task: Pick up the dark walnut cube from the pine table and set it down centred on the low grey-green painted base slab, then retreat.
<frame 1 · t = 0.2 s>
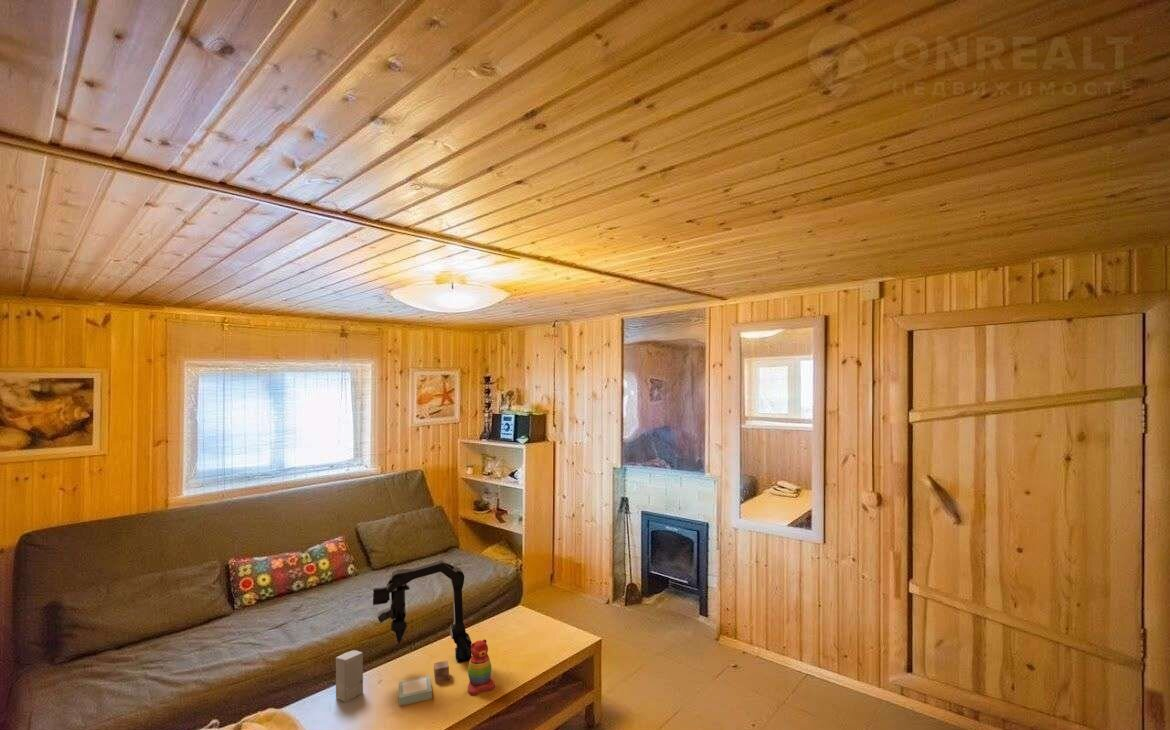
hand: (399, 637, 227), 14 cm above the table, fingers open, 9 cm apart
base slab: (414, 694, 209), on the table
walnut cube: (441, 678, 220), on the table
skincare box: (349, 695, 209), on the table
stacking bear: (480, 687, 213), on the table
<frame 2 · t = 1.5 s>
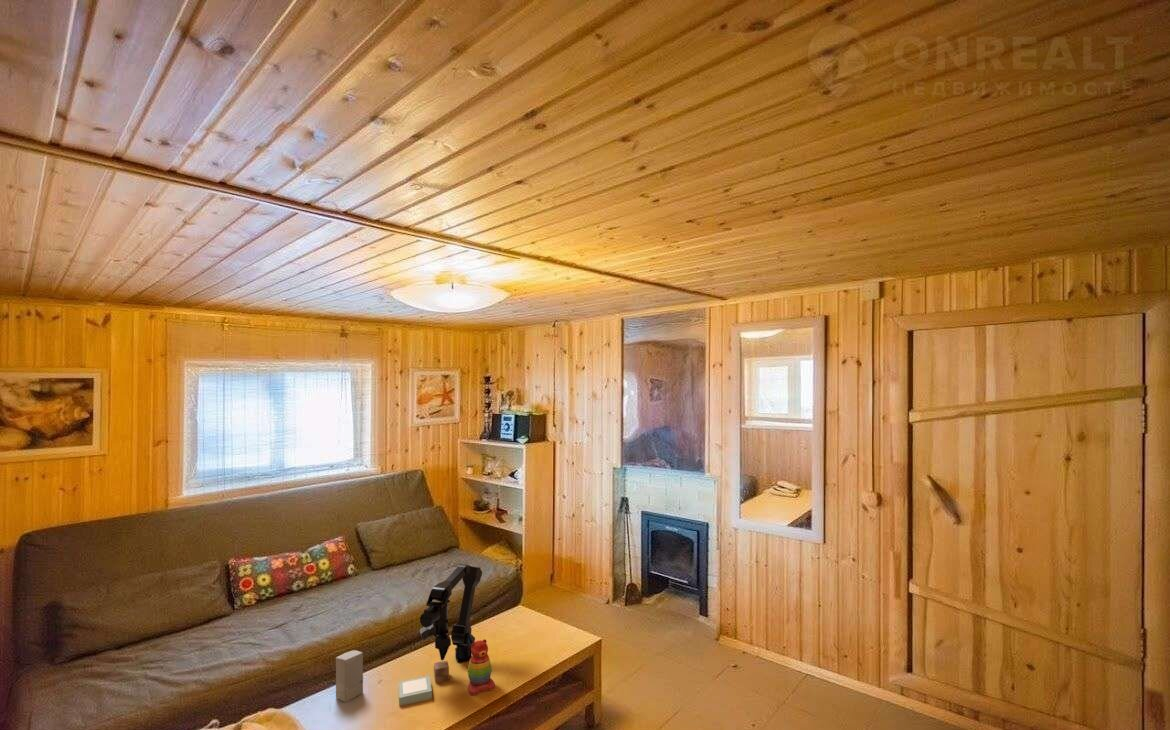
hand: (441, 654, 221), 9 cm above the table, fingers open, 9 cm apart
nothing on the table moved.
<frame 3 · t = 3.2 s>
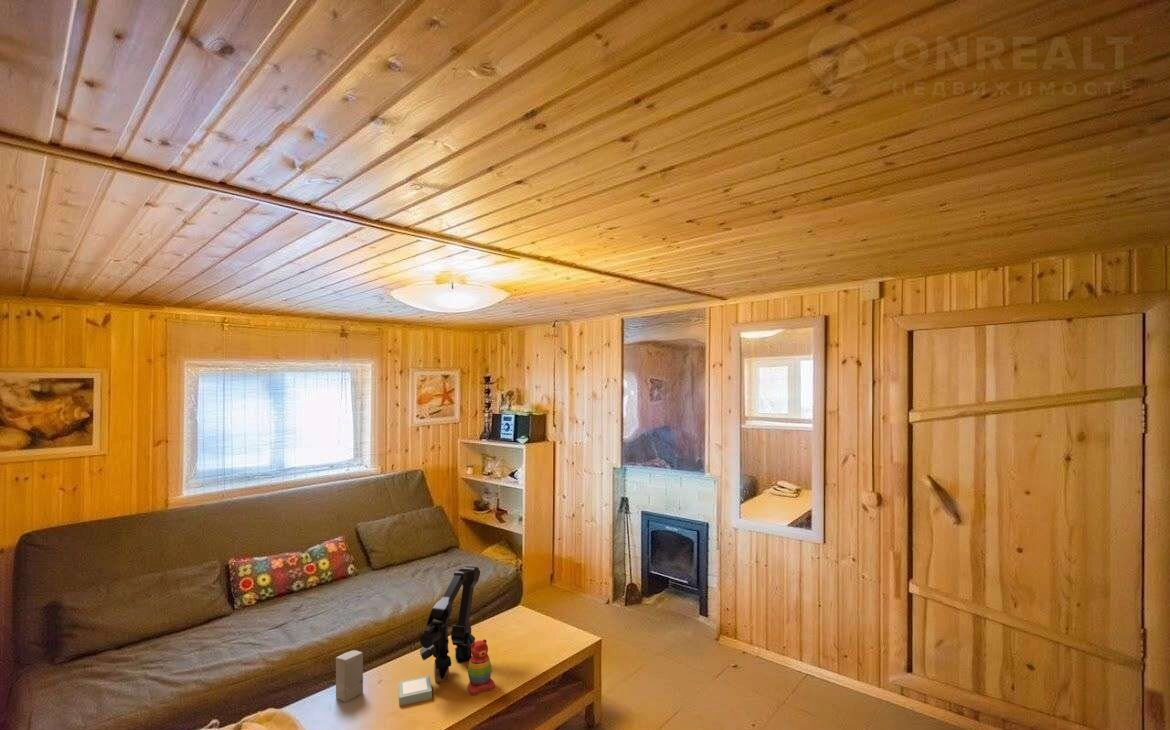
hand: (441, 675, 220), 1 cm above the table, fingers closed on walnut cube, 5 cm apart
walnut cube: (441, 678, 220), on the table, touching gripper
everything else where it was.
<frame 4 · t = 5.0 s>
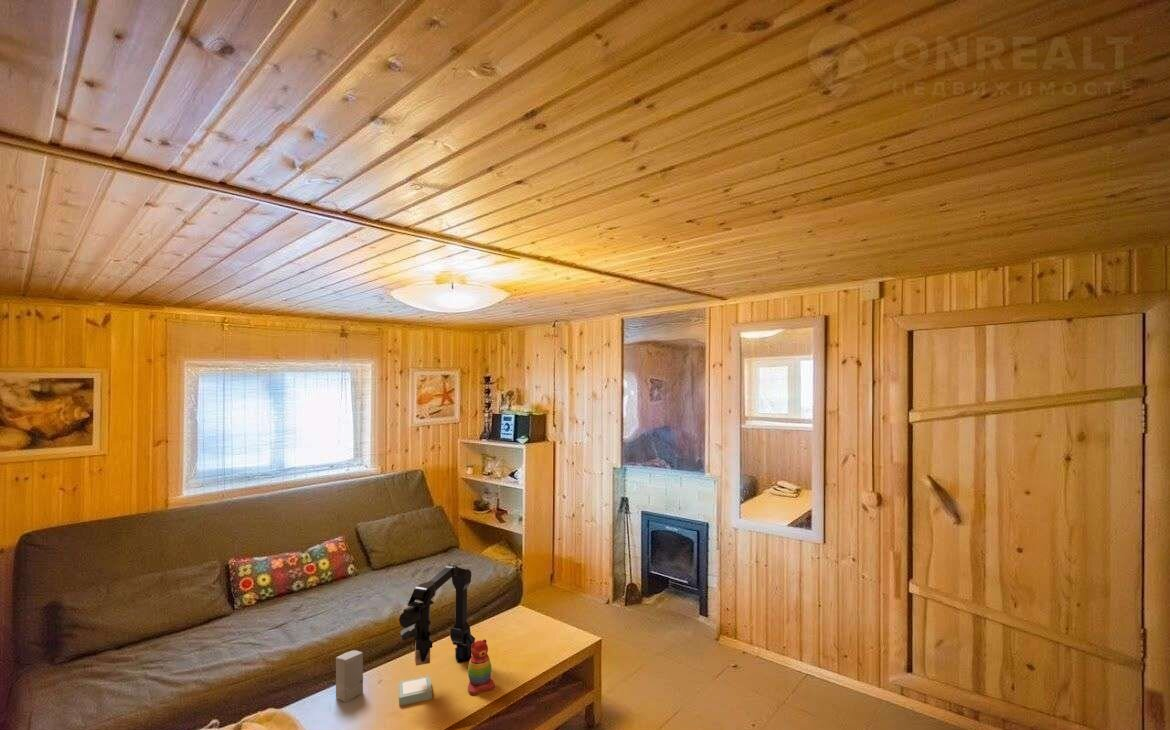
hand: (422, 658, 212), 12 cm above the table, fingers closed on walnut cube, 5 cm apart
walnut cube: (422, 661, 212), point 11 cm above the table, touching gripper
everything else where it was.
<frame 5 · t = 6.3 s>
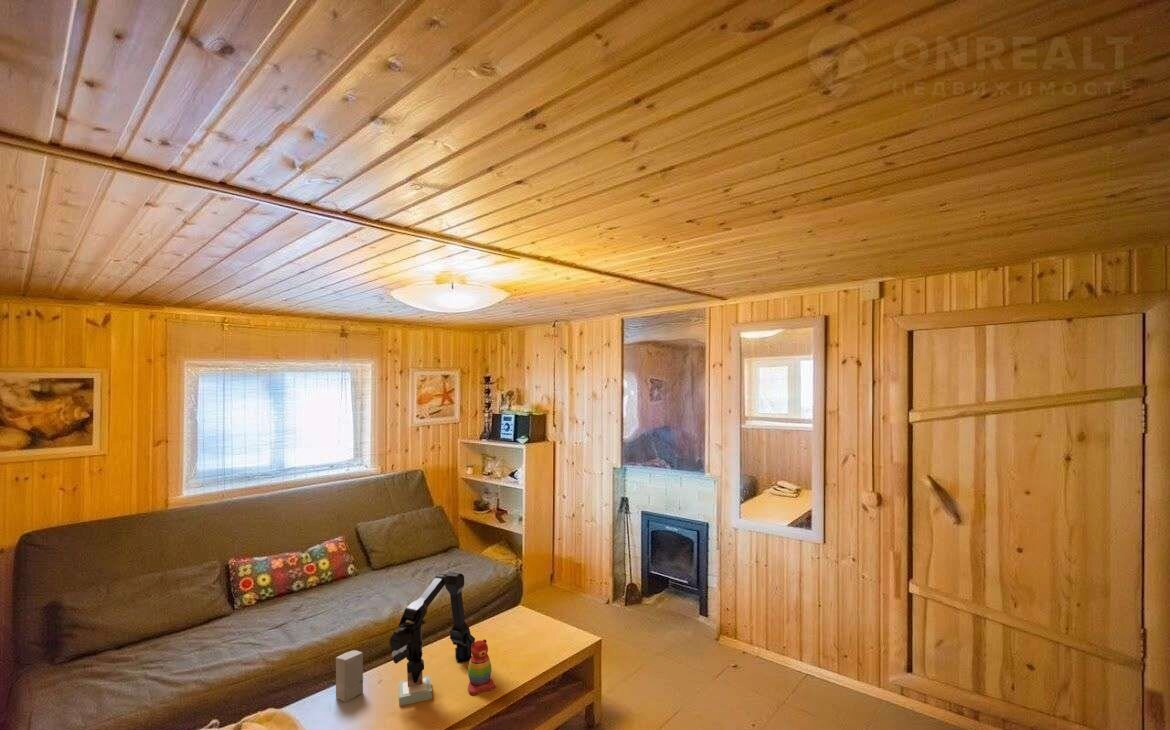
hand: (414, 679, 209), 6 cm above the table, fingers closed on walnut cube, 5 cm apart
walnut cube: (414, 682, 209), point 5 cm above the table, touching gripper
everything else where it was.
when the fingers open (5 cm above the table, at t = 7.2 s): walnut cube drops 1 cm, resting on base slab.
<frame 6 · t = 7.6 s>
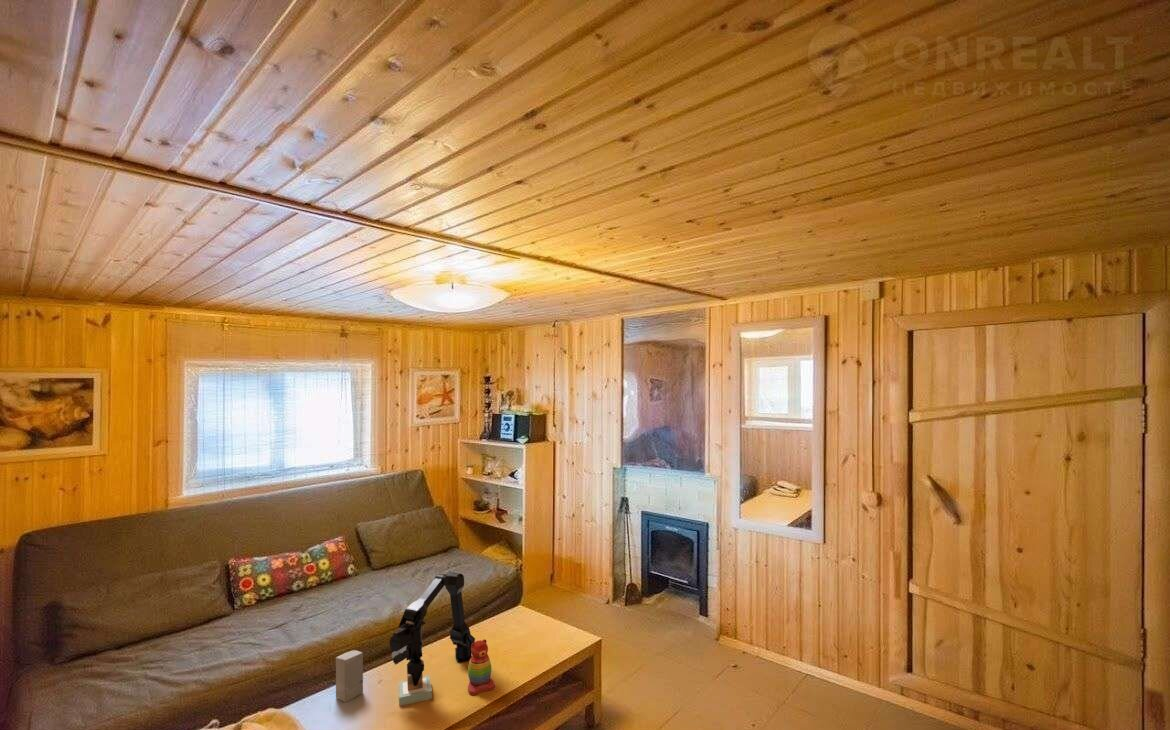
hand: (414, 679, 209), 5 cm above the table, fingers open, 9 cm apart
walnut cube: (414, 685, 209), point 3 cm above the table, touching base slab
everything else where it was.
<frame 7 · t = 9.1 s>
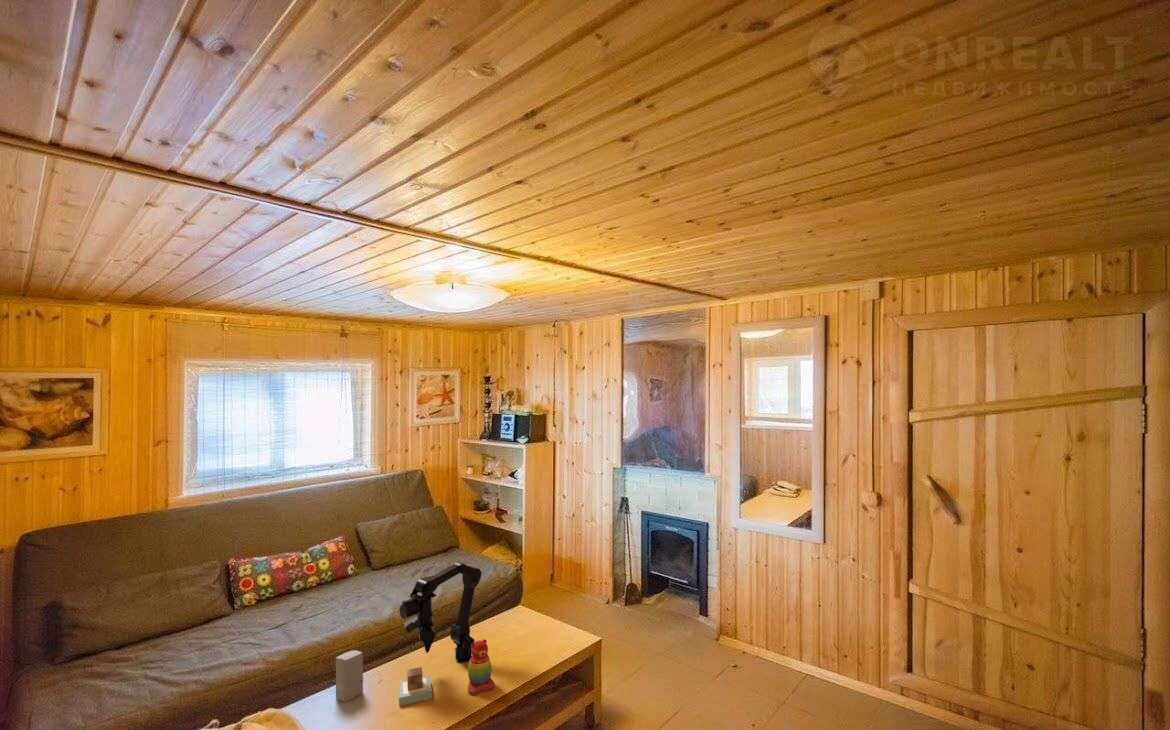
hand: (426, 647, 222), 12 cm above the table, fingers open, 9 cm apart
nothing on the table moved.
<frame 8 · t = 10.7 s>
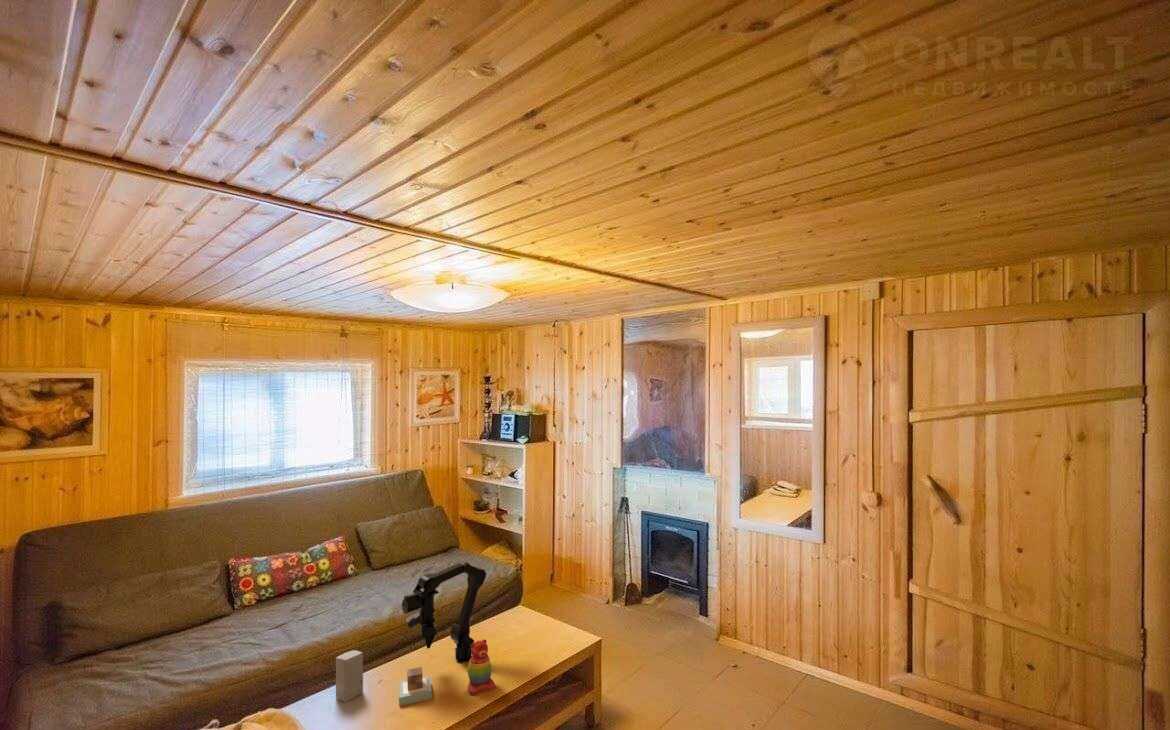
hand: (427, 643, 225), 13 cm above the table, fingers open, 9 cm apart
nothing on the table moved.
at the end: walnut cube inside the target area on the base slab (0.1 cm from its centre), point 3.1 cm above the base slab's base; walnut cube tilted 0°; the gripper is holding nothing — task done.
